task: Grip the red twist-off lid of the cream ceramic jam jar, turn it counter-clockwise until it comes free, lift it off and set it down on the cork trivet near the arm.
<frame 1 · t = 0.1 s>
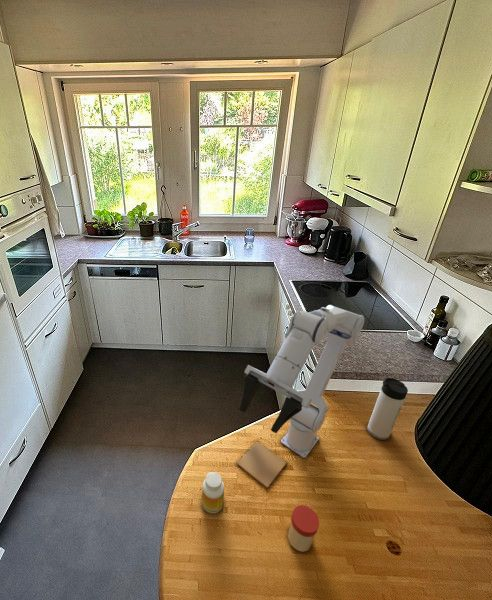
hand: (257, 421, 66), 32 cm above the countertop, tool tilted 50°, fingers open, 7 cm apart
travel mug: (377, 432, 102), on the countertop
jar: (299, 538, 75), on the countertop
lid: (305, 519, 72), point 8 cm above the countertop, screwed on, not yet turned
supplement bottle: (212, 503, 83), on the countertop
trivet: (261, 464, 92), on the countertop
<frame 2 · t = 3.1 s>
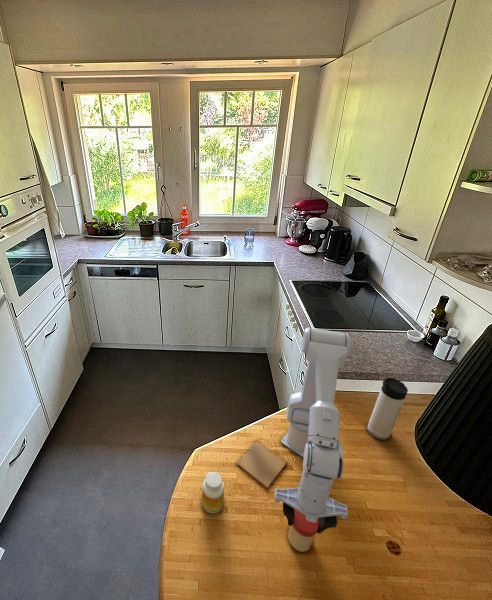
hand: (303, 524, 73), 6 cm above the countertop, tool pointing down, fingers closed on lid, 5 cm apart
lid: (305, 519, 72), point 8 cm above the countertop, screwed on, not yet turned, touching gripper
everything else where it was.
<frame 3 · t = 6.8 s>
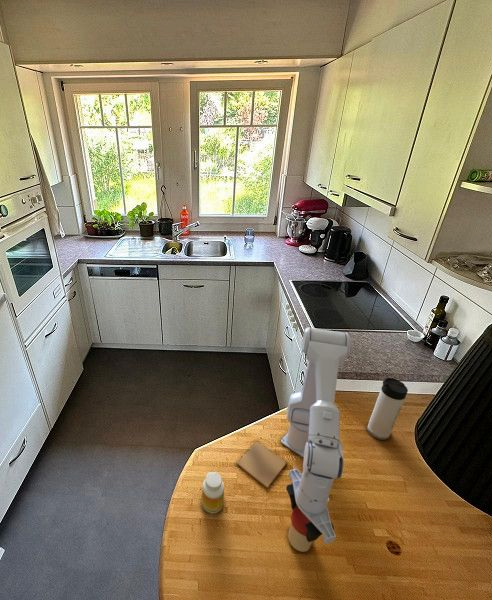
hand: (303, 524, 72), 6 cm above the countertop, tool pointing down, fingers closed on lid, 5 cm apart
lid: (305, 518, 72), point 8 cm above the countertop, off its thread, touching gripper
everything else where it was.
when the fingers open (2 cm above the countertop, at t = 23.2 s): lid drops 2 cm, resting on trivet.
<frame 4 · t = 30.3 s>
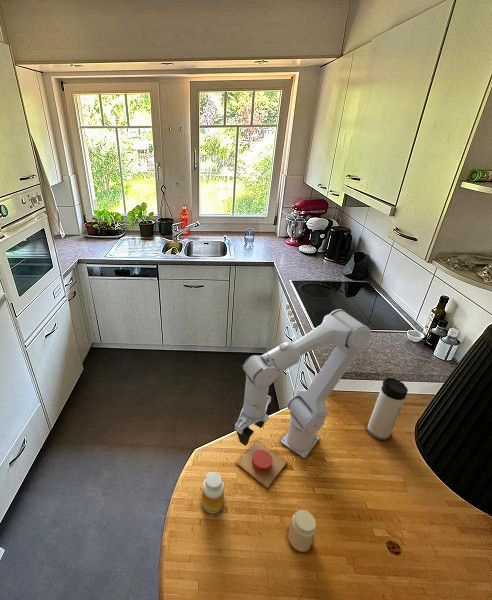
hand: (251, 434, 89), 10 cm above the countertop, tool pointing down, fingers open, 7 cm apart
lid: (262, 459, 91), point 2 cm above the countertop, off its thread, touching trivet
everything else where it was.
at the end: lid came off its thread; lid inside the target area on the trivet (0.1 cm from its centre), point 1.9 cm above the trivet's base; the gripper is holding nothing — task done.
